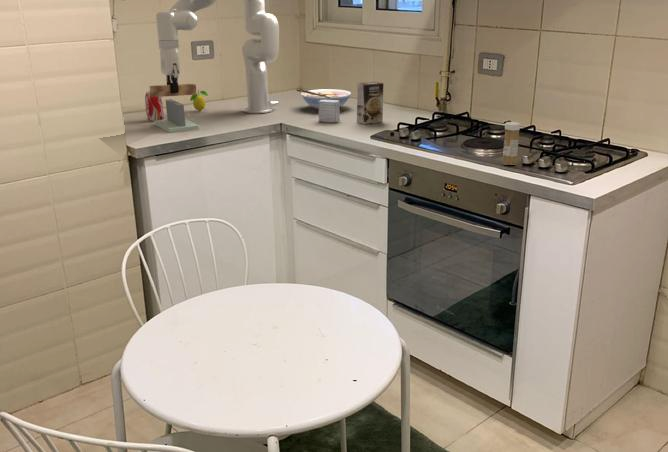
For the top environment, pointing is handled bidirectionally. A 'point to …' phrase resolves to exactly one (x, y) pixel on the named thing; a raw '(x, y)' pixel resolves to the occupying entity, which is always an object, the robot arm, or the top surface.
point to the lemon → (199, 101)
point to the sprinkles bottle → (511, 142)
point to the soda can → (154, 107)
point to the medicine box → (329, 111)
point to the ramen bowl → (324, 96)
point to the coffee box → (370, 102)
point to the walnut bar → (165, 91)
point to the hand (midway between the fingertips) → (173, 91)
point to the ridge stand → (176, 118)
